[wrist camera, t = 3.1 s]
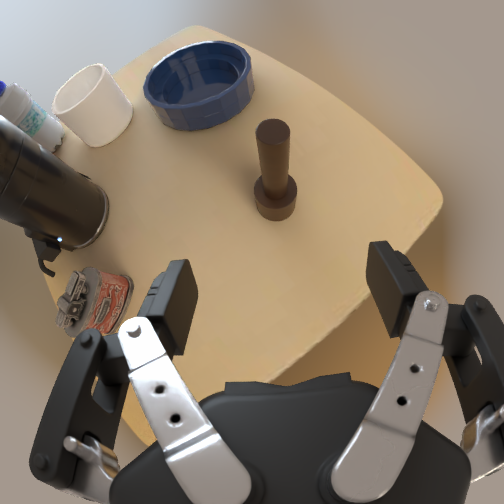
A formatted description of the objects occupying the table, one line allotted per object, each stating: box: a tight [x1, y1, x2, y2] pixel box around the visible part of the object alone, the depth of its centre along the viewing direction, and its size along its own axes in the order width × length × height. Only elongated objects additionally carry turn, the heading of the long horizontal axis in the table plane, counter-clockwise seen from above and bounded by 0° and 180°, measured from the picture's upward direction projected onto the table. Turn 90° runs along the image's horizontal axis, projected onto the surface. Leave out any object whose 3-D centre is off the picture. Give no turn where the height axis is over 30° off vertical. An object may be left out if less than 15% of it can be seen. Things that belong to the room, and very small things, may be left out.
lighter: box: [56, 267, 134, 338], centre depth 26 cm, size 8×3×10 cm, turn 153°
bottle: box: [0, 81, 65, 152], centre depth 28 cm, size 7×7×20 cm
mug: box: [52, 63, 133, 147], centre depth 32 cm, size 13×10×10 cm
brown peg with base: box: [254, 119, 297, 221], centre depth 24 cm, size 4×4×14 cm
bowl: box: [143, 41, 254, 131], centre depth 33 cm, size 15×15×6 cm
